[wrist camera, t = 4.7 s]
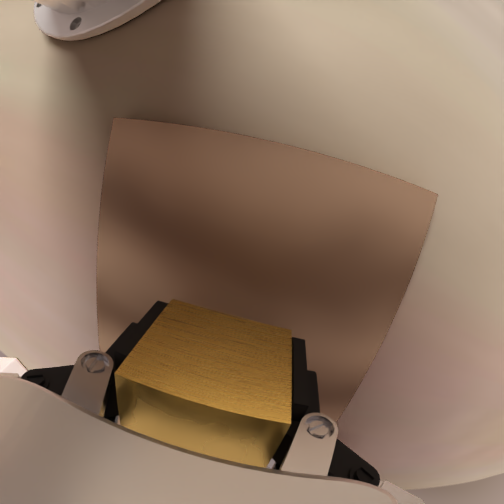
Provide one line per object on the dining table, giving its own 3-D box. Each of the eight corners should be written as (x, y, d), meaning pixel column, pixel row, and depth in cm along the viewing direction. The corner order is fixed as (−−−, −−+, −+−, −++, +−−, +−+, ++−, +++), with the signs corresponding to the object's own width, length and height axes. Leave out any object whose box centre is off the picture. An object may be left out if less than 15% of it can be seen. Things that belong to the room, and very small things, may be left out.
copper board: (124, 119, 12) (113, 117, 11) (428, 191, 12) (437, 194, 11) (115, 421, 19) (111, 429, 18) (294, 470, 19) (294, 479, 18)
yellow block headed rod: (172, 298, 11) (114, 373, 7) (291, 329, 11) (291, 423, 7) (162, 464, 16) (140, 516, 11) (229, 483, 15) (217, 538, 11)
